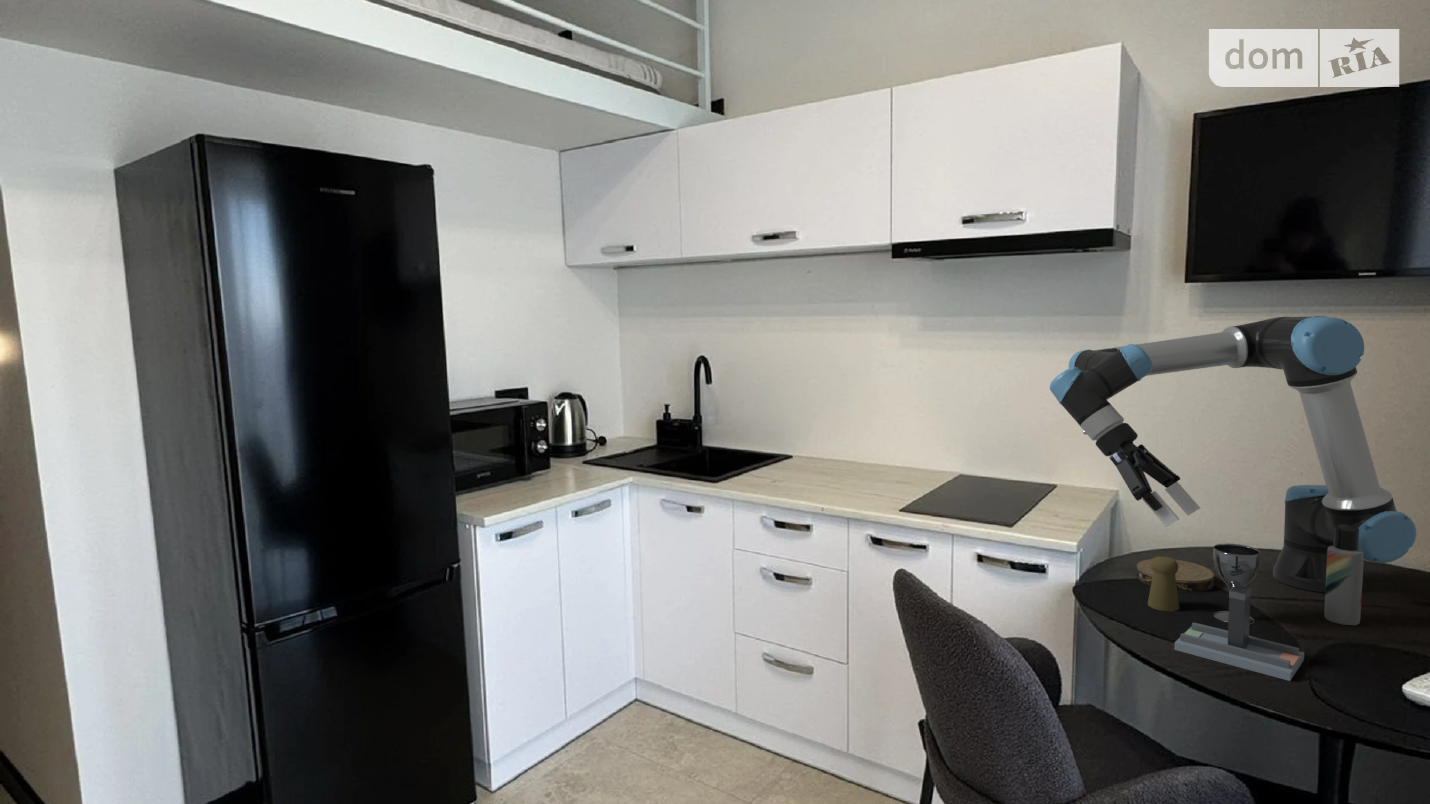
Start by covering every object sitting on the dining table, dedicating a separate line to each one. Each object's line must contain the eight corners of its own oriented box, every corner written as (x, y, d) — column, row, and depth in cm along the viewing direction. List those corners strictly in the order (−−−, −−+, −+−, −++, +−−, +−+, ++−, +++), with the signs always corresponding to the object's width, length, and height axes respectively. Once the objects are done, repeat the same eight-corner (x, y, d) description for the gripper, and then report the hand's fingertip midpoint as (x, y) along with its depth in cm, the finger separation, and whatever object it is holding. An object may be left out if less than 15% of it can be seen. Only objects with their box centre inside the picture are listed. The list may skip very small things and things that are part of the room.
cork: (1184, 612, 160) (1185, 563, 159) (1153, 610, 161) (1154, 562, 160) (1172, 601, 166) (1174, 554, 165) (1143, 600, 167) (1144, 553, 166)
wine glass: (1202, 612, 160) (1204, 544, 158) (1236, 609, 160) (1239, 542, 158) (1230, 627, 152) (1233, 556, 150) (1267, 624, 152) (1269, 553, 151)
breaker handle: (1227, 647, 139) (1229, 591, 138) (1233, 640, 142) (1235, 585, 141) (1242, 651, 137) (1245, 594, 136) (1248, 644, 140) (1251, 588, 139)
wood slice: (1215, 597, 168) (1215, 584, 168) (1135, 586, 176) (1135, 574, 176) (1212, 575, 181) (1212, 563, 181) (1137, 566, 190) (1138, 555, 189)
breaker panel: (1174, 649, 143) (1174, 636, 142) (1192, 632, 150) (1193, 619, 150) (1290, 681, 129) (1290, 666, 129) (1303, 660, 137) (1304, 646, 136)
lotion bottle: (1352, 616, 154) (1357, 523, 152) (1365, 627, 149) (1371, 530, 147) (1319, 613, 156) (1323, 521, 154) (1331, 624, 151) (1336, 529, 149)
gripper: (1116, 437, 165) (1186, 517, 156) (1071, 448, 148) (1146, 538, 139) (1145, 416, 161) (1218, 497, 151) (1101, 425, 144) (1180, 517, 135)
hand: (1184, 517), depth 145 cm, fingers open, 13 cm apart
